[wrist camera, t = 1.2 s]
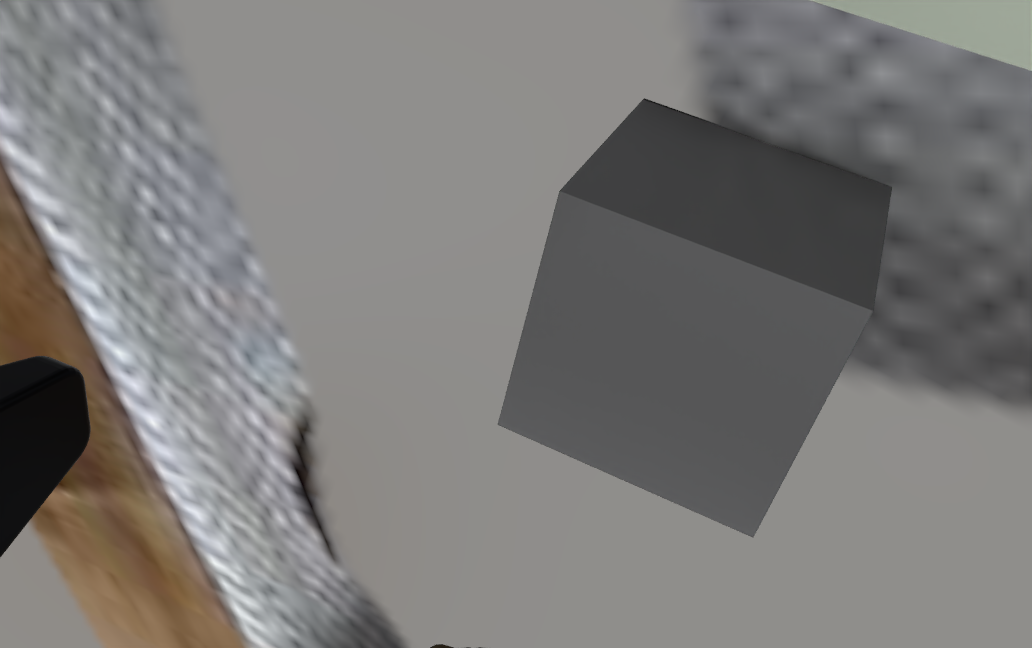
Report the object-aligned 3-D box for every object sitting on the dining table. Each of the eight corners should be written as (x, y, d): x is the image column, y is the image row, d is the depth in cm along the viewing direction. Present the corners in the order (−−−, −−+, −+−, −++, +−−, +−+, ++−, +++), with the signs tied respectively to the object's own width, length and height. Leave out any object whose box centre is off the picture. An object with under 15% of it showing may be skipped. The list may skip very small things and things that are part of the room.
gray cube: (792, 386, 21) (752, 537, 17) (582, 300, 22) (497, 424, 18) (892, 185, 18) (873, 310, 14) (643, 98, 19) (559, 190, 15)
